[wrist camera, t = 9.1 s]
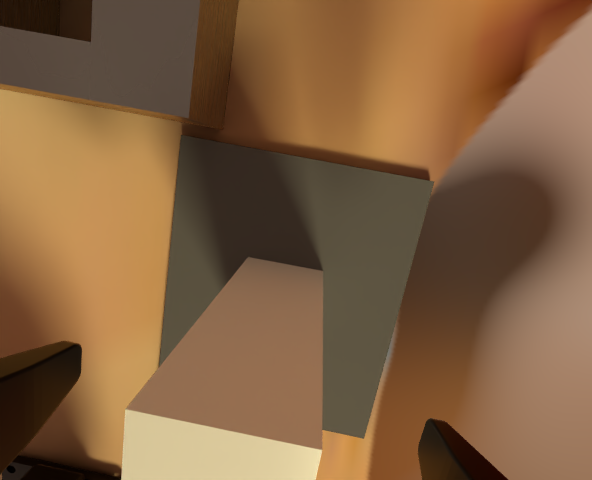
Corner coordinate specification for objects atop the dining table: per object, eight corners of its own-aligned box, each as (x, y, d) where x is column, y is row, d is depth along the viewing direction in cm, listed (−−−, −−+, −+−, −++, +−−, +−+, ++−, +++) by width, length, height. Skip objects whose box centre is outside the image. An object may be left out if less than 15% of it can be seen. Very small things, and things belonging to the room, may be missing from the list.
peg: (309, 339, 15) (289, 596, 6) (238, 325, 15) (116, 557, 6) (323, 270, 14) (322, 450, 5) (247, 256, 14) (125, 408, 5)
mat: (362, 431, 16) (363, 438, 16) (160, 388, 16) (156, 394, 16) (430, 181, 13) (434, 181, 13) (185, 135, 14) (181, 134, 13)
